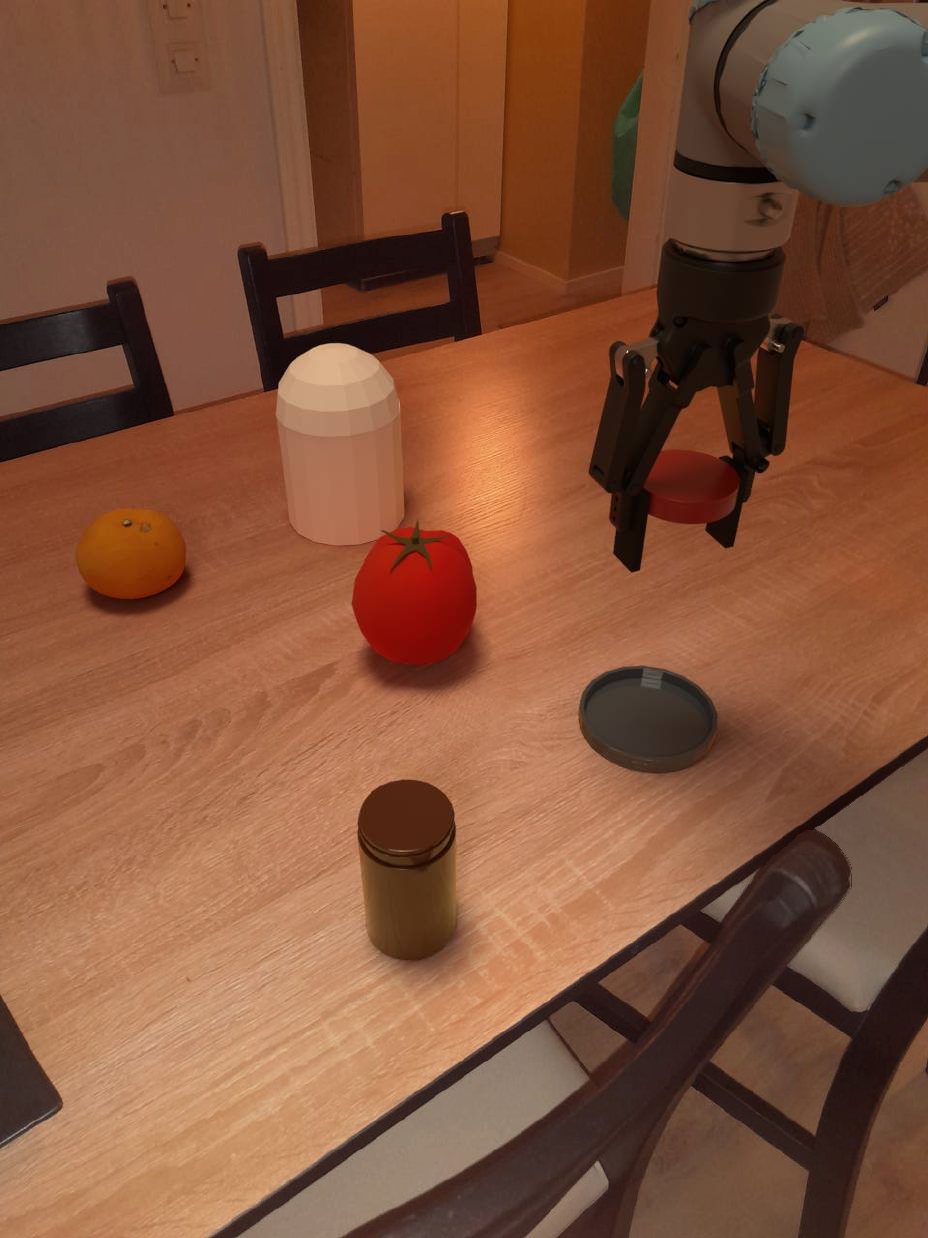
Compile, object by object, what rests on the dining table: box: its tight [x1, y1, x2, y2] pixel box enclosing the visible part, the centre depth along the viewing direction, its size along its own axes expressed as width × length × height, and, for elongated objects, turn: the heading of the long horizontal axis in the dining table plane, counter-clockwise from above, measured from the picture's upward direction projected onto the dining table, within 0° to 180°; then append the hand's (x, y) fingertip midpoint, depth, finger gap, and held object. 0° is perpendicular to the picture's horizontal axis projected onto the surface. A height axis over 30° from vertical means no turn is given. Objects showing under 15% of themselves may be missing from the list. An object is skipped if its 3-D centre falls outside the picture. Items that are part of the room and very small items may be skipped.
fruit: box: [75, 507, 187, 600], centre depth 98 cm, size 10×10×8 cm
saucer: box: [577, 665, 719, 774], centre depth 84 cm, size 12×12×2 cm
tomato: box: [351, 519, 478, 667], centre depth 88 cm, size 12×12×13 cm
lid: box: [643, 449, 740, 525], centre depth 70 cm, size 8×8×2 cm
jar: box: [356, 779, 457, 961], centre depth 65 cm, size 6×6×12 cm
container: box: [275, 342, 406, 547], centre depth 106 cm, size 14×13×20 cm
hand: (673, 549), depth 74 cm, fingers closed on lid, 8 cm apart
